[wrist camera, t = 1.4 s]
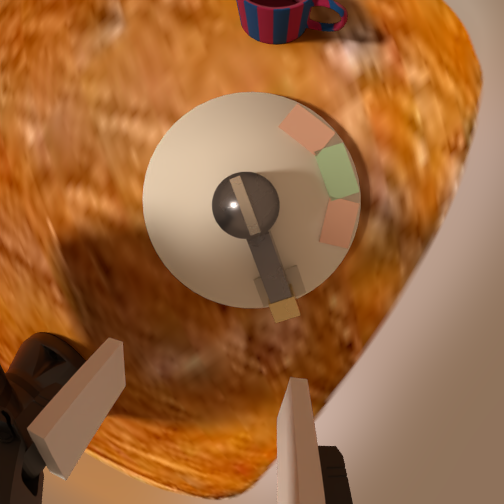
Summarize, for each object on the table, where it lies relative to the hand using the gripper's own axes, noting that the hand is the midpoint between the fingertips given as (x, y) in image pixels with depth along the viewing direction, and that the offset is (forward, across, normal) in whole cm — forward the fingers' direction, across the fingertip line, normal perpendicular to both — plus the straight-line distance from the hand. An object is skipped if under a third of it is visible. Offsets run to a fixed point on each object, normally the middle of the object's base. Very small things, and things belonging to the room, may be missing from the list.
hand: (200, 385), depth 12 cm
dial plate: (+17, 0, +7) cm, 19 cm away
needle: (+15, +2, +4) cm, 16 cm away
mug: (+17, +1, +26) cm, 31 cm away
